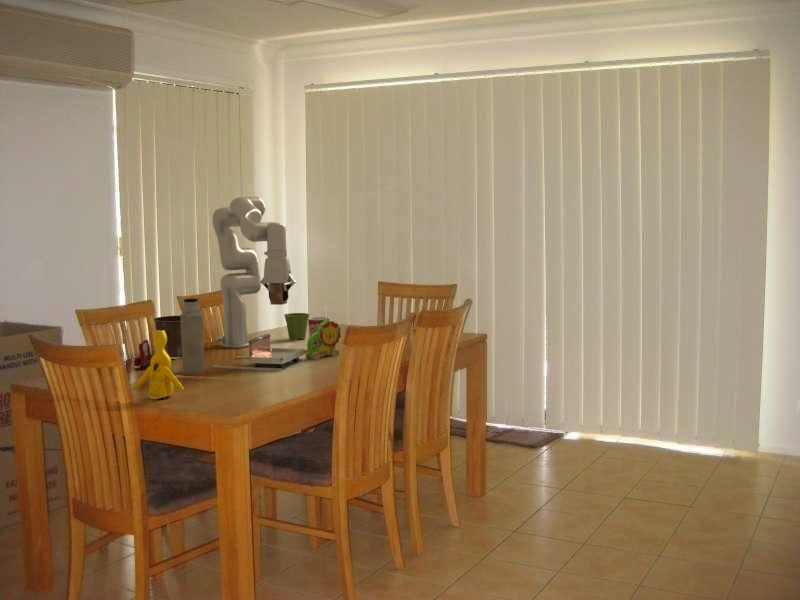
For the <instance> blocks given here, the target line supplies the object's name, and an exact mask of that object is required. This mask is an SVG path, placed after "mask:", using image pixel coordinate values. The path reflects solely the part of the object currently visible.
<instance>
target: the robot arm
mask: <svg viewBox="0 0 800 600" xmlns="http://www.w3.org/2000/svg"><path fill="white" fill-rule="evenodd" d="M265 212H266V204H265V201H264V200H263V199H262V197H258V196H239V197H236V198H234V199H232V201H231V202H230V204H229V206H224V207H219V208H217V209H215V210H214V212H212V218H211V219H212V227H213V230H214V232H215V235H216V238H217V241H218V251H219V256H220V258H219V259H220V264H221V266H222V268H223V270H225V271H243V270H245V271H244V272H232V273H227V274H224V275H223V276H222V277H221V279H220V283H219V284H220V289H221V290H220V291H221V294H222V302H223V304H222V305H223V322H224V323H223V326H224V327H223V328H224V335H219V336H217V337H216V340H217V341H218V342H222V343H221V347H222V348H225V349H238V348H239V349H240V348H247V347H248V348H249V343H248V341H249V340H248V327H247V325H248V324H247V306H246V305H247V304H246V303H245V301H244V299H243V298H242V297H241V296H244V295H255V294H258V293H259V292H260V290H261V286H264V287H265V288H266V289H267V291H268V299H269V300H270V284H283V288H284V291H283V301H287V302H288V300H289V290H290V289H291V288H292V287H293V286H294V285H295V284H296V283H297V280H295V278H294V277H293V276H292V270H291V263H290V260H289V257H288V251H287V248H288V247H287V228H286V227H287V226H286V224H285V223H284V222H273V221H269V222H264V221H263V222H261V221H262V219H263V217H264V214H265ZM234 227H235V228H236V227H239V230H240V232H241V234H242V235H243V236H244V237H245V238H246V239H247V240H248V241H250V242H252V243H253V242H254V243H256V242H266V251H264V253H263V254H264V255H265V256H266V258H265V260H264V266H263V267H264V268H263V277H262V279H261V273H260V266H259V265H260V264H259V258H258V255H257V252H256V251H255V249H253V248H252V247H240V244H239V237H238V235H237V234H236V232H235V231H234V230H233V229H232V228H234Z"/></svg>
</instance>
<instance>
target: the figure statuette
mask: <svg viewBox="0 0 800 600" xmlns="http://www.w3.org/2000/svg"><path fill="white" fill-rule="evenodd" d="M153 343H154V346H155V348H156V351H154V354H153V355H152V358H151V360H150V365H151V366H149V367H147V368H146V370H145V372H143V375H141V377H139V378H138V380H137V381H136V382H135V383H134V385H133V386H132V388H131V389H132V390H133V391H137V390H138V389H139V388H140V387H142V385H143V384H144V383H145V382H146V381H147V380H148V379H149V383H148V389H149V391H148V392H149V393H148V394H149V396H154V397H164V396H167V395H171V394H172V395H173V394H174V390H175V387H176V388H177V389H178V390H179V391H181V392H183V390H185V388H184V386H183V385H182V384H181V382H180V381H179V380H178V379H177V377H176V376H175V375H174V373H173V372H172V371H171V370H172V369H171V368H172V360H171V358H170V357H169V355H168V354H167V353H166V351H165V346H166V343H167V335H166V333H165V330H163V331H160V330H158V331H157V330H155V333H154V335H153Z"/></svg>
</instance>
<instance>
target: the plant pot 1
mask: <svg viewBox="0 0 800 600" xmlns="http://www.w3.org/2000/svg"><path fill="white" fill-rule="evenodd" d="M153 322H154V325H155V329H156V331H158V330H160V331H163V330H165V333H166V335H167V343H166V346H165V351H166V353H167V354H168V355H169V357H182V342H181V319H180V315H166V316H158V317H155V318H153Z"/></svg>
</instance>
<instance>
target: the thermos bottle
mask: <svg viewBox="0 0 800 600" xmlns="http://www.w3.org/2000/svg"><path fill="white" fill-rule="evenodd" d="M183 302H184V304H183V307H182V309H181V314H180V315H179V316H180V319H181V342H182V358H181V360H182V361H181V363H182V373H183V374H184V375H197V374H202V373H205V371H206V365H205V364H206V363H205V343H204V342H205V341H204V339H205V338H204V337H205V336H204V320H203V318H204V316H203V313H202V312H201V311H202V310H201V307H200V306H199V303H198V298H184V299H183Z"/></svg>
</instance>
